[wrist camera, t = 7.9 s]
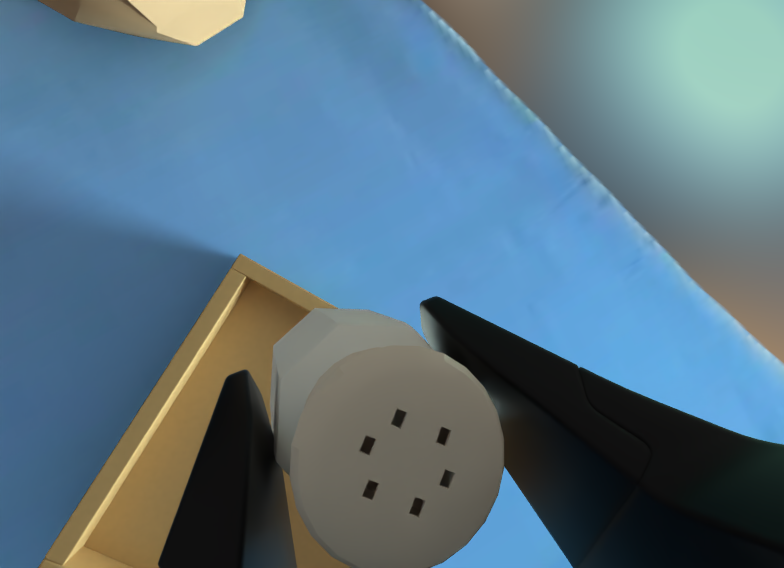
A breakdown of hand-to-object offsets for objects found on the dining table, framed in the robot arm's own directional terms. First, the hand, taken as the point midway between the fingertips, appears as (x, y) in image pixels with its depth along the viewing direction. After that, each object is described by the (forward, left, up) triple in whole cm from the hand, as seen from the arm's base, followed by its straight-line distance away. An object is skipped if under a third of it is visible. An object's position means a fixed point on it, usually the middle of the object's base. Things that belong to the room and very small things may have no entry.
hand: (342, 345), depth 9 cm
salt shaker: (-1, -1, -7) cm, 7 cm away
